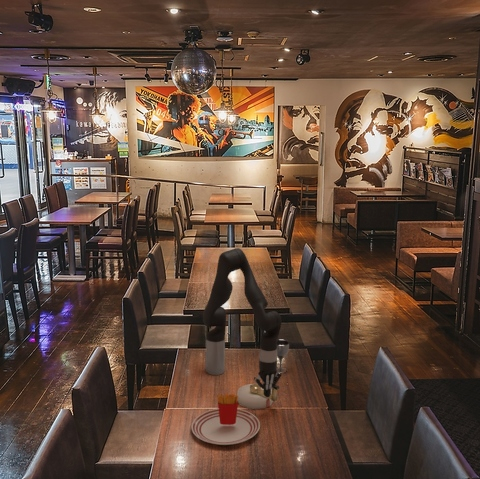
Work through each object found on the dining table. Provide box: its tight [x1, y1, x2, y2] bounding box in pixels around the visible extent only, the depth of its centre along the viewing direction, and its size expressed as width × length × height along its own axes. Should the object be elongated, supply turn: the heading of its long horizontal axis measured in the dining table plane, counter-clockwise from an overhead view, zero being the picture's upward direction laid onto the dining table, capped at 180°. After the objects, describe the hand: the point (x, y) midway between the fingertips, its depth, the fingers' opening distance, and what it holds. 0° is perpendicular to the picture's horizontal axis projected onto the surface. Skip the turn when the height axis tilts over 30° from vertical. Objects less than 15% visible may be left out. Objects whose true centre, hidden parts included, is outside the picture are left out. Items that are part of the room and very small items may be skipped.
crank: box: [250, 383, 280, 402], centre depth 235 cm, size 16×5×7 cm, turn 46°
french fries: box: [216, 393, 239, 425], centre depth 214 cm, size 8×4×12 cm, turn 91°
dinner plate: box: [190, 408, 261, 446], centre depth 215 cm, size 28×27×3 cm
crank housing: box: [236, 383, 274, 410], centre depth 239 cm, size 16×16×4 cm
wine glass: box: [276, 339, 290, 374], centre depth 270 cm, size 8×8×15 cm
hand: (267, 396), depth 229 cm, fingers closed
